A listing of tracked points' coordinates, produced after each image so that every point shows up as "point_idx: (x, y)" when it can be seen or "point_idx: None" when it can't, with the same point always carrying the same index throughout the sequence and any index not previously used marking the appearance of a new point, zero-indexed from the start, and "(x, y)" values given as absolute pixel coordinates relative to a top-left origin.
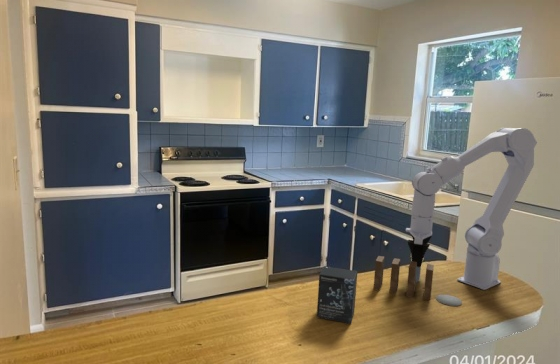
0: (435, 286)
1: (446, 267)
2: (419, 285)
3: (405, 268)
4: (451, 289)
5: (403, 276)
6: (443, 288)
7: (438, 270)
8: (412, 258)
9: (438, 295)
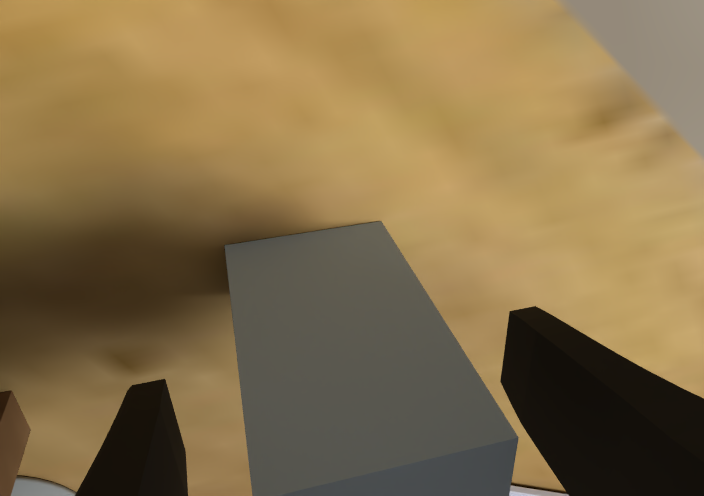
0: (231, 409)
1: (677, 362)
2: (159, 316)
3: (556, 96)
4: (246, 490)
5: (306, 133)
6: (229, 455)
7: (598, 338)
8: (88, 483)
9: (25, 482)
